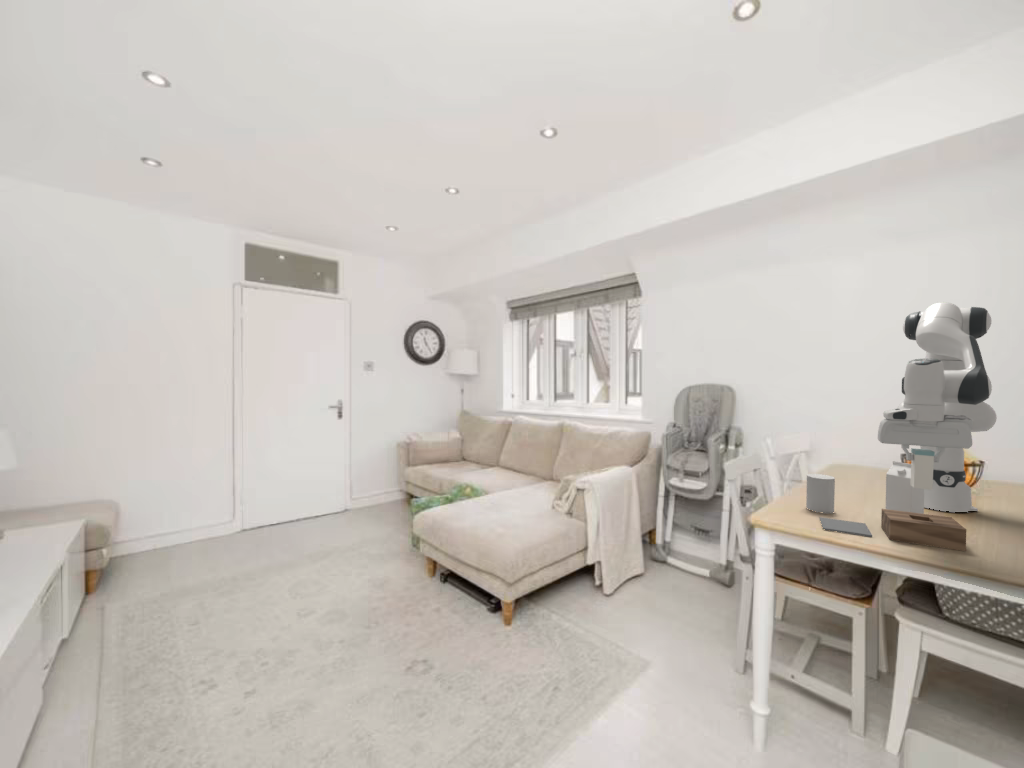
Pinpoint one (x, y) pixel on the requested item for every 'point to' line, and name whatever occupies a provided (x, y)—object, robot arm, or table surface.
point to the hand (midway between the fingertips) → (922, 461)
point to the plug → (922, 468)
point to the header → (923, 529)
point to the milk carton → (903, 490)
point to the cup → (820, 493)
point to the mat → (845, 526)
